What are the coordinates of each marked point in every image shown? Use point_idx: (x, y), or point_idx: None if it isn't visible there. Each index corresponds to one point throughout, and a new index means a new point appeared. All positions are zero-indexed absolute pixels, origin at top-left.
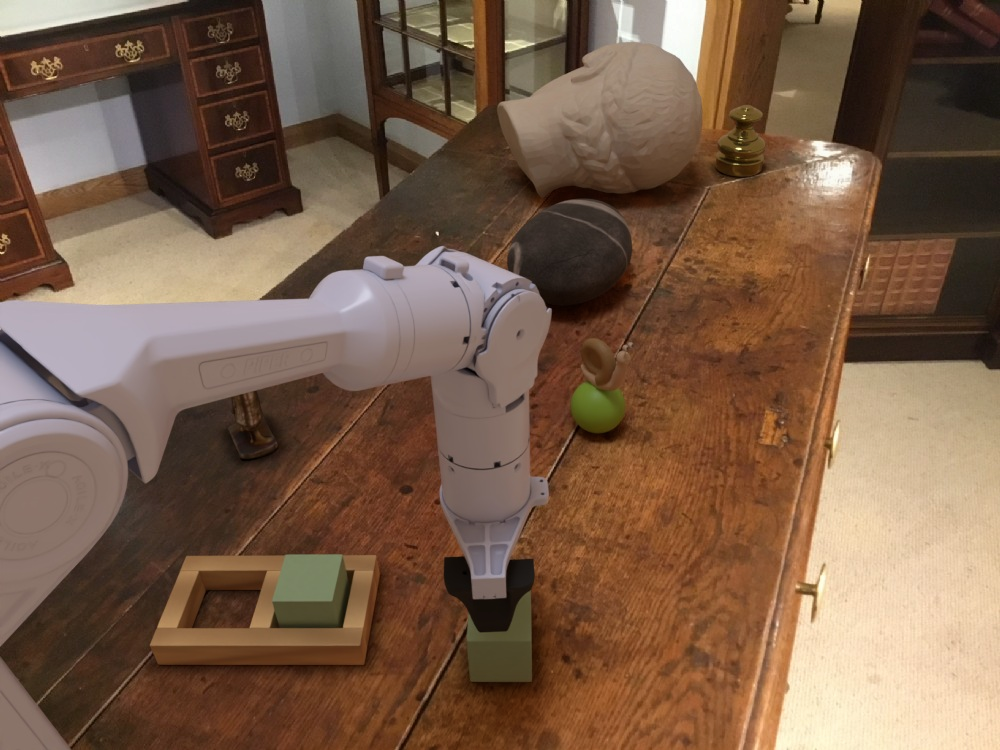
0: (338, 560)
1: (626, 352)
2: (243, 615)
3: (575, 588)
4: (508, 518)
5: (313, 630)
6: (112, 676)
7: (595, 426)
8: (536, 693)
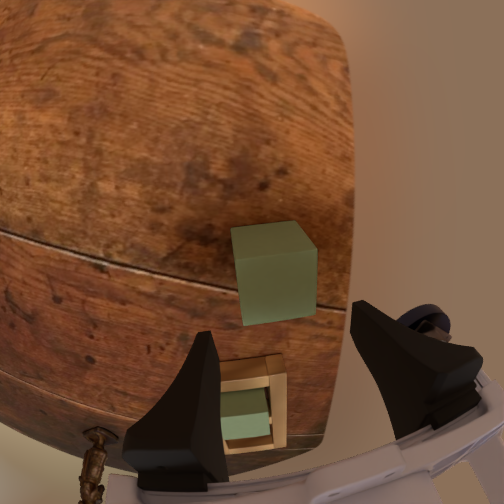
0: (223, 419)
1: None
2: None
3: (161, 184)
4: (430, 469)
5: (273, 399)
6: (289, 439)
7: None
8: (307, 213)
